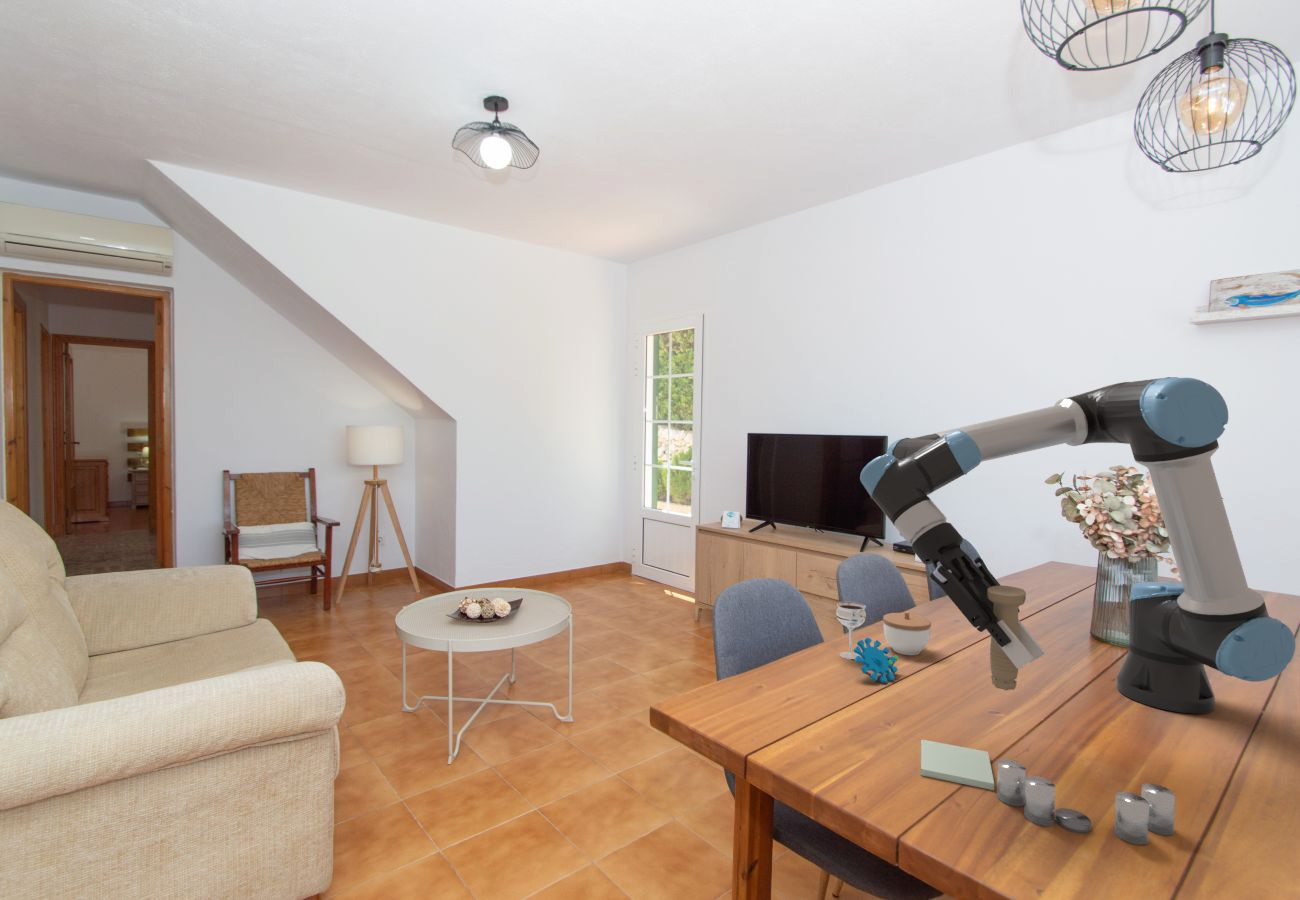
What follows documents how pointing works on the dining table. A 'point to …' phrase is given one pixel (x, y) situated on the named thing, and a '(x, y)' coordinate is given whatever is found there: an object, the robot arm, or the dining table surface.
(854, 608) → the wineglass
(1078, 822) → the disc
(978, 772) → the pad
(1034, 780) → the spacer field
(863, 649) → the gear
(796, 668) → the dining table surface
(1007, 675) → the handle
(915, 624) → the lidded jar
